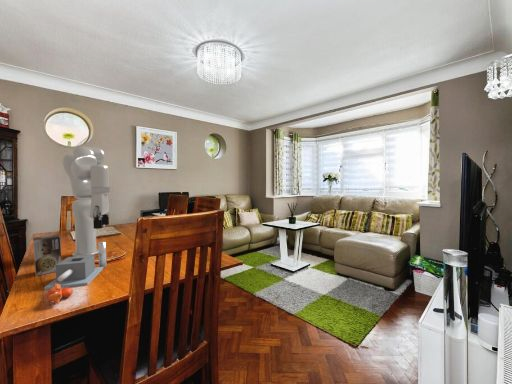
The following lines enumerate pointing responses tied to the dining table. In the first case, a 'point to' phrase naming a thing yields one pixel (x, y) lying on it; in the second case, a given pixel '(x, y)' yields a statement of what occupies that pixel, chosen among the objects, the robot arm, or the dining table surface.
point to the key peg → (102, 254)
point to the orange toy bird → (58, 294)
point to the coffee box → (46, 253)
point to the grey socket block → (75, 272)
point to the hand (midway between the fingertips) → (101, 226)
